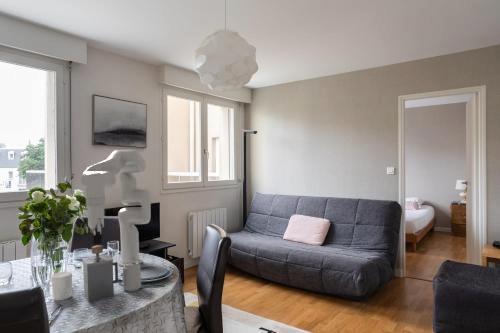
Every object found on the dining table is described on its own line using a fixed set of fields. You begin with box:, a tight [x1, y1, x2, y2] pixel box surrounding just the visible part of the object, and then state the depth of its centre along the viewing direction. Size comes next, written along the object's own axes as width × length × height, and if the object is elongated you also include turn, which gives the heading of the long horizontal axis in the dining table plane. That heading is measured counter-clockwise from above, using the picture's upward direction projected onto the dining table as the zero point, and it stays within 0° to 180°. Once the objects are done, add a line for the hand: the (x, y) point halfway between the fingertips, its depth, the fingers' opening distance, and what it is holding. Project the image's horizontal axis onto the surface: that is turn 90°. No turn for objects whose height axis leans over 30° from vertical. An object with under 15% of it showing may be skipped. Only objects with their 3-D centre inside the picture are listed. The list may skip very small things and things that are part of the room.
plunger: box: [91, 244, 104, 260], centre depth 144 cm, size 4×4×14 cm
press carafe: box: [81, 253, 119, 303], centre depth 145 cm, size 10×13×16 cm
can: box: [122, 261, 142, 292], centre depth 151 cm, size 8×8×12 cm
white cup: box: [50, 270, 73, 302], centre depth 144 cm, size 8×8×10 cm
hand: (97, 243), depth 145 cm, fingers closed
